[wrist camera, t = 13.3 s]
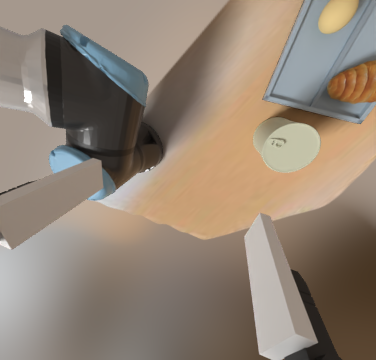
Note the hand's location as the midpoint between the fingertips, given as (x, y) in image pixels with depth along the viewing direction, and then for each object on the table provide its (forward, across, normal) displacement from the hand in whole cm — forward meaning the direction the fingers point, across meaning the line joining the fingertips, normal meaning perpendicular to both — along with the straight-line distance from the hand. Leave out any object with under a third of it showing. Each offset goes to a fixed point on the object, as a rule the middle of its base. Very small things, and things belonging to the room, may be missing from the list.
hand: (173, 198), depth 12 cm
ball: (+31, +14, +24) cm, 42 cm away
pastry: (+30, +24, +16) cm, 42 cm away
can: (+32, +15, +3) cm, 35 cm away
